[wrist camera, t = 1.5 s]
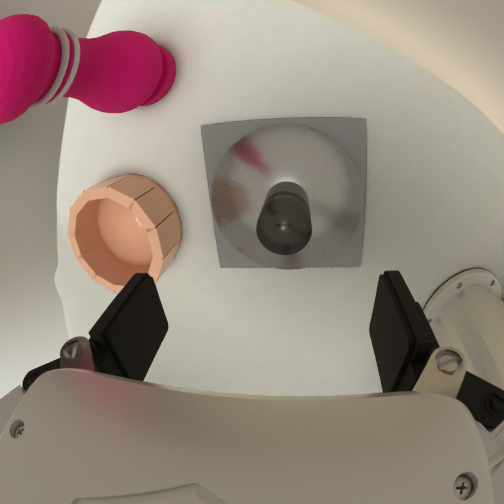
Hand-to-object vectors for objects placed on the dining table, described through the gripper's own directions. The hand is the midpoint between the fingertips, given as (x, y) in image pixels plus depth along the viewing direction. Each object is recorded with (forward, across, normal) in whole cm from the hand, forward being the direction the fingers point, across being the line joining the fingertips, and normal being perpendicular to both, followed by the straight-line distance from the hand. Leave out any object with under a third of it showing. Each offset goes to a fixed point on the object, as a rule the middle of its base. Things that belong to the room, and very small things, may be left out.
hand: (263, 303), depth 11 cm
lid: (+15, -1, 0) cm, 15 cm away
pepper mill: (+16, +11, -13) cm, 23 cm away
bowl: (+16, +15, +2) cm, 22 cm away
